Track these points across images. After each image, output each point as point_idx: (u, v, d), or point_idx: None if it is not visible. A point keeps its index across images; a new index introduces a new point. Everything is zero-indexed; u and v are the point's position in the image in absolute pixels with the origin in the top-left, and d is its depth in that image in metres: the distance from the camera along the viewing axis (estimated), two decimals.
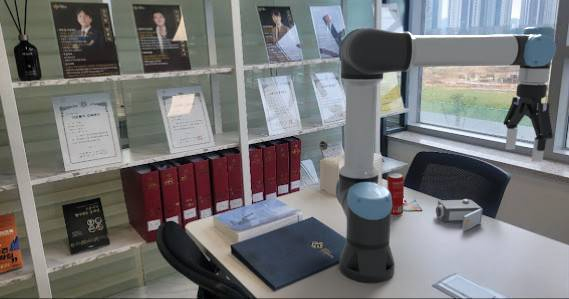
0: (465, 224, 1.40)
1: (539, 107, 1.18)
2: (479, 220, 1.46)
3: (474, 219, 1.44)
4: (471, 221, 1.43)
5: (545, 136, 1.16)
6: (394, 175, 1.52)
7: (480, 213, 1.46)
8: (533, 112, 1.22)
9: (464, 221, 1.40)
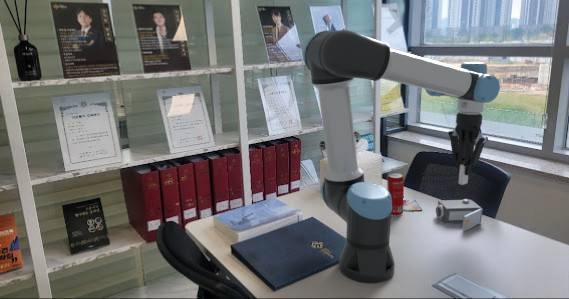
0: (465, 224, 1.40)
1: None
2: (479, 220, 1.46)
3: (474, 219, 1.44)
4: (471, 221, 1.43)
5: None
6: (394, 175, 1.52)
7: (480, 213, 1.46)
8: None
9: (464, 221, 1.40)
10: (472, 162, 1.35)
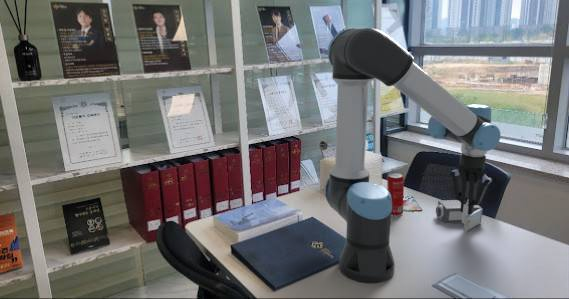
0: (466, 224, 1.40)
1: None
2: (479, 220, 1.46)
3: (475, 219, 1.44)
4: (472, 221, 1.42)
5: None
6: (394, 175, 1.52)
7: (480, 213, 1.46)
8: None
9: (465, 221, 1.40)
10: (476, 202, 1.37)
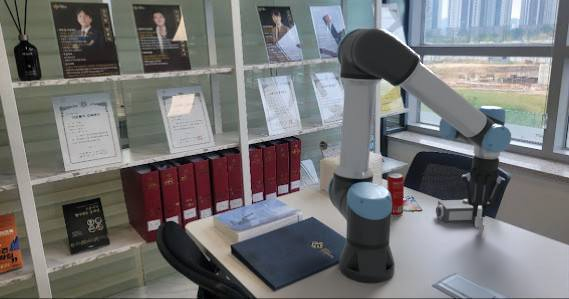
0: (482, 228, 1.38)
1: None
2: None
3: None
4: None
5: None
6: (394, 175, 1.52)
7: None
8: None
9: (481, 225, 1.37)
10: (492, 204, 1.36)
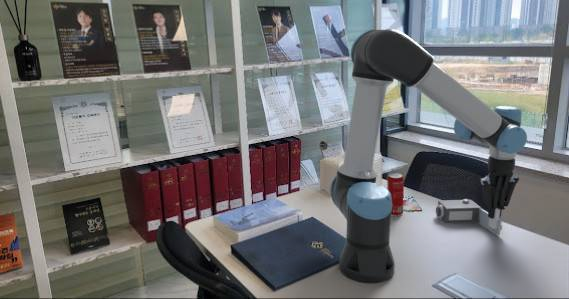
0: (500, 228, 1.37)
1: None
2: None
3: None
4: None
5: (484, 204, 1.37)
6: (394, 175, 1.52)
7: None
8: None
9: (500, 226, 1.37)
10: (507, 203, 1.36)
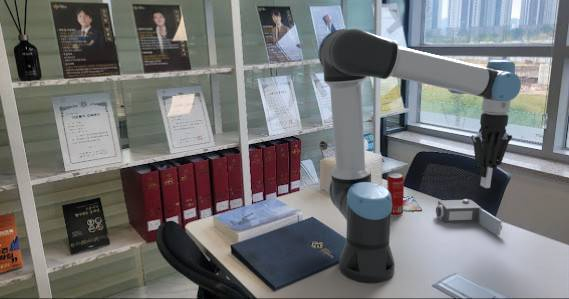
0: (500, 228, 1.37)
1: None
2: None
3: None
4: None
5: (476, 162, 1.33)
6: (394, 175, 1.52)
7: None
8: None
9: (500, 226, 1.37)
10: (500, 162, 1.33)
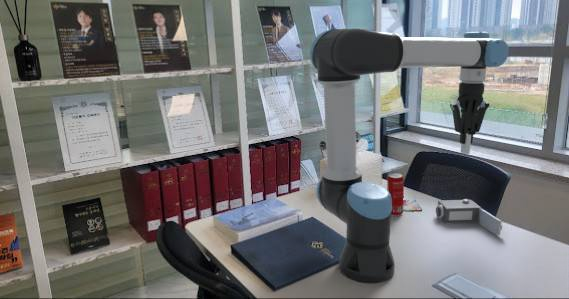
0: (500, 228, 1.37)
1: None
2: None
3: None
4: None
5: (455, 129, 1.41)
6: (394, 175, 1.52)
7: None
8: None
9: (500, 226, 1.37)
10: (478, 129, 1.40)
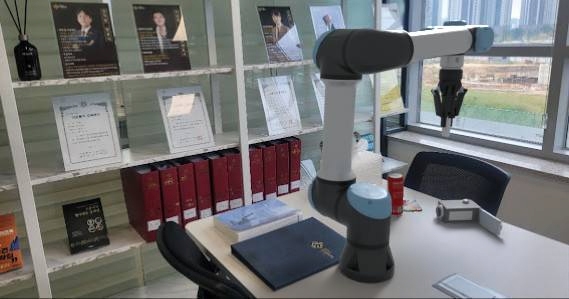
0: (500, 228, 1.37)
1: None
2: None
3: None
4: None
5: (436, 113, 1.49)
6: (394, 175, 1.52)
7: None
8: None
9: (500, 226, 1.37)
10: (458, 113, 1.48)
